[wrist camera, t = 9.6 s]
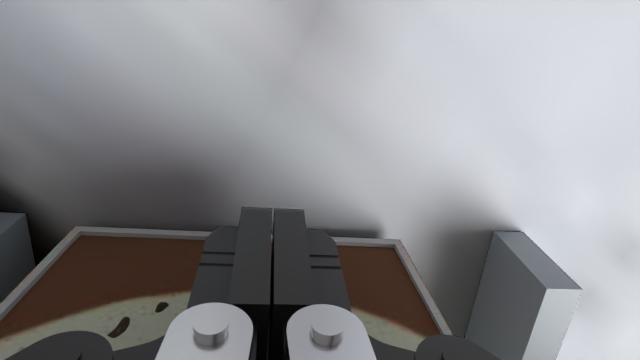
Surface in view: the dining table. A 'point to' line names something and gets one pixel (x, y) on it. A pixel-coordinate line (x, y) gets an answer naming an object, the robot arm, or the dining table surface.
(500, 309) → the frame
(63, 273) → the food container
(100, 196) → the dining table surface
